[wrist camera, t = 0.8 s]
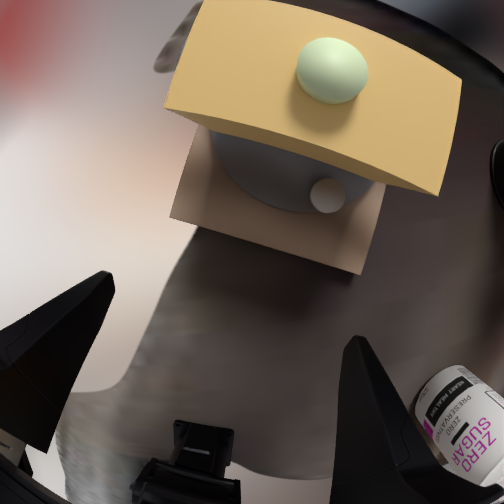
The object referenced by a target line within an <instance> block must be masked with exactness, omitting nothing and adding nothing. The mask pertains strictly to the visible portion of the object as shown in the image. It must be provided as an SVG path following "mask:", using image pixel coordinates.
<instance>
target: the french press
mask: <svg viewBox="0 0 504 504" xmlns="http://www.w3.org/2000/svg"><path fill="white" fill-rule="evenodd" d="M490 173H491V180H492V184H493V188H494V191H495V194H496V197H497V199H498V201H499V203H500V205H501V206H502V208H503V209H504V140H500V141H498V142H497V143H496V144H495V145H494V147H493V149H492V152H491V157H490Z"/></svg>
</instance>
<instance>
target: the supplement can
mask: <svg viewBox="0 0 504 504" xmlns="http://www.w3.org/2000/svg"><path fill="white" fill-rule="evenodd" d="M415 415H416V417H417V419H418V420H419V422H420V423H421V424H422V426H423V427H424V429H425V430H426V431H427V433H428V434H429V435H430V437H431V438H432V440H433V441H434V442H435V444H436V445H437V447H438V448H439V449H440V451H441V452H442V454H443V455H444V457H445V458H446V459H447V461H448V462H449V464H450V465H451V467H452V468H453V470H454V471H455V472H456V474H457V475H458V476H460V477H462V478H464V479H466V480H468V481H470V482H472V483H475V484H477V485H479V486H483V487H486V486H488V485H491V484H494V483H499V482H500V481H501V480H502V479H503V478H504V399H503V398H502V397H501V396H500V395H499V394H497V393H496V392H495V391H494V390H492V389H491V388H490V387H489V386H487V385H486V384H485V383H484V382H483V381H481V380H480V379H479V378H477V377H476V376H475V375H474V374H472V373H471V372H470V371H469V370H467V369H466V368H465V367H464V366H461V365H454V366H451V367H449V368H446V369H444V370H442V371H440V372H439V373H437V374H436V375H435V376H433V377H432V378H431V380H430V381H429V382H428V383H427V384H426V385H425V387H424V388H423V390H422V391H421V393H420V395H419V398H418V400H417V403H416V406H415Z"/></svg>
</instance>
